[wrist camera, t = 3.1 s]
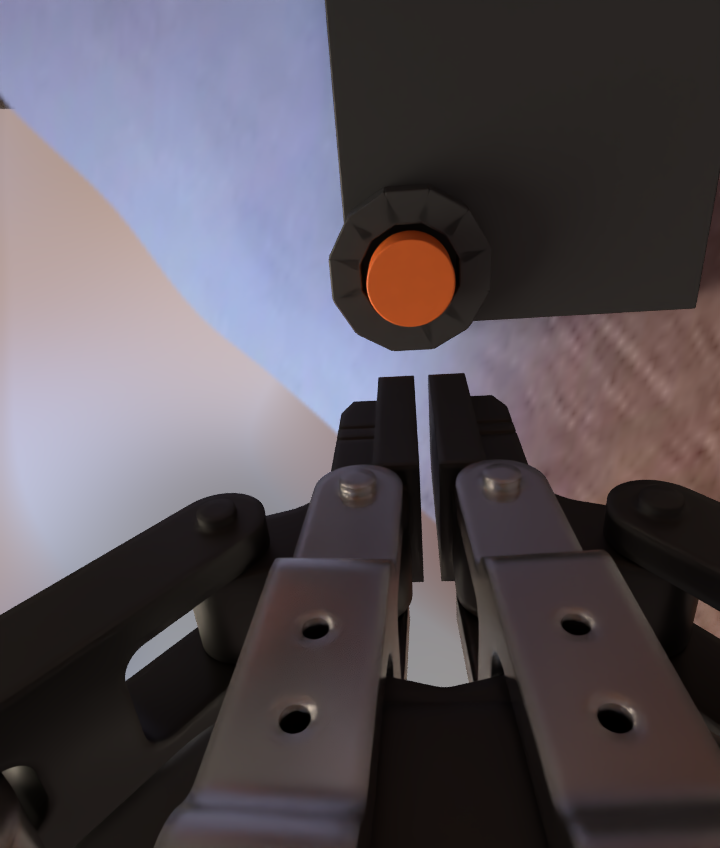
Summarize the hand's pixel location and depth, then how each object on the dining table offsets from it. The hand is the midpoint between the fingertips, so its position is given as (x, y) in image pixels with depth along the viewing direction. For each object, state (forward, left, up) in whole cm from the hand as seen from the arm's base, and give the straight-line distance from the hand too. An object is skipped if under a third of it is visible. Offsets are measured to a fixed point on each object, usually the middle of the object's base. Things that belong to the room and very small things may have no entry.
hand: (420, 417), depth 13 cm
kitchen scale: (+4, +4, -15) cm, 16 cm away
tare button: (0, 0, -12) cm, 12 cm away
